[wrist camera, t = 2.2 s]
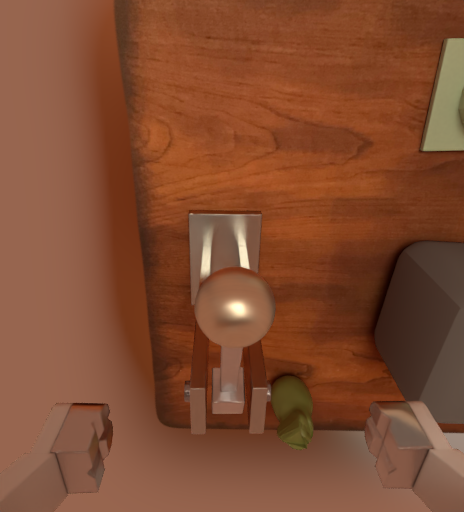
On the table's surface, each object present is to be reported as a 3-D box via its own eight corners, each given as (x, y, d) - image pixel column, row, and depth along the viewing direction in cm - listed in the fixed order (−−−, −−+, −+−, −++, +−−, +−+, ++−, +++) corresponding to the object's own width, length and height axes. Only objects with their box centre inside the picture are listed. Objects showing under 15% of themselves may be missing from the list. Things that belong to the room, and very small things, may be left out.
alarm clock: (442, 343, 51) (524, 447, 37) (362, 340, 50) (416, 445, 36) (489, 236, 43) (615, 317, 30) (396, 230, 43) (480, 311, 29)
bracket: (189, 209, 41) (161, 342, 21) (261, 210, 41) (298, 342, 22) (191, 299, 46) (172, 468, 27) (255, 299, 47) (280, 467, 27)
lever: (194, 249, 16) (190, 325, 14) (276, 250, 16) (285, 325, 14) (203, 372, 28) (201, 423, 26) (250, 372, 28) (252, 422, 26)
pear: (286, 399, 55) (298, 464, 46) (260, 384, 54) (268, 447, 45) (312, 378, 53) (331, 441, 44) (287, 361, 52) (301, 423, 43)
